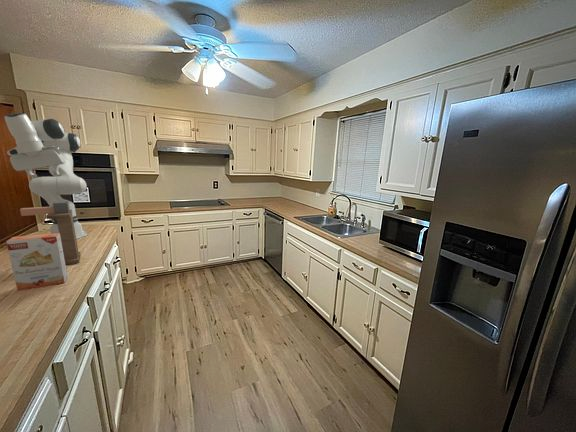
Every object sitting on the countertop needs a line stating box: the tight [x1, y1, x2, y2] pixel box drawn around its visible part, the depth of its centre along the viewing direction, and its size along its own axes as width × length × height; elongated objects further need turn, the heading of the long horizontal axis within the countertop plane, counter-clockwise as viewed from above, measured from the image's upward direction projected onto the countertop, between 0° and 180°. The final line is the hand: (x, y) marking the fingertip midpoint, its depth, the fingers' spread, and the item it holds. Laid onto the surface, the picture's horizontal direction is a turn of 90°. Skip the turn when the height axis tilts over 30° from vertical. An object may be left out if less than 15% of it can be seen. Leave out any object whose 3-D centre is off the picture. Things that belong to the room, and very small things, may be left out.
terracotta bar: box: [19, 200, 70, 217], centre depth 113 cm, size 5×16×5 cm, turn 127°
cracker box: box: [5, 233, 69, 292], centre depth 97 cm, size 14×6×21 cm, turn 121°
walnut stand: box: [45, 210, 82, 266], centre depth 120 cm, size 12×8×25 cm
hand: (46, 176), depth 123 cm, fingers open, 8 cm apart
